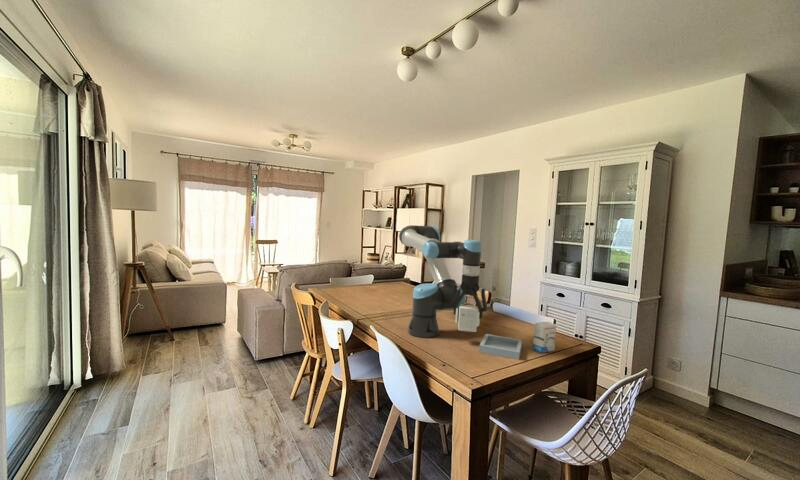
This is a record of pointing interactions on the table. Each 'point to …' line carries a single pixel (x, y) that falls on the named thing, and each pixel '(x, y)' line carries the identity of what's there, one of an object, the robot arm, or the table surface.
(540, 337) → the ink box
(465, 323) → the small box
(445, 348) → the table surface
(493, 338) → the tray
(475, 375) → the table surface
